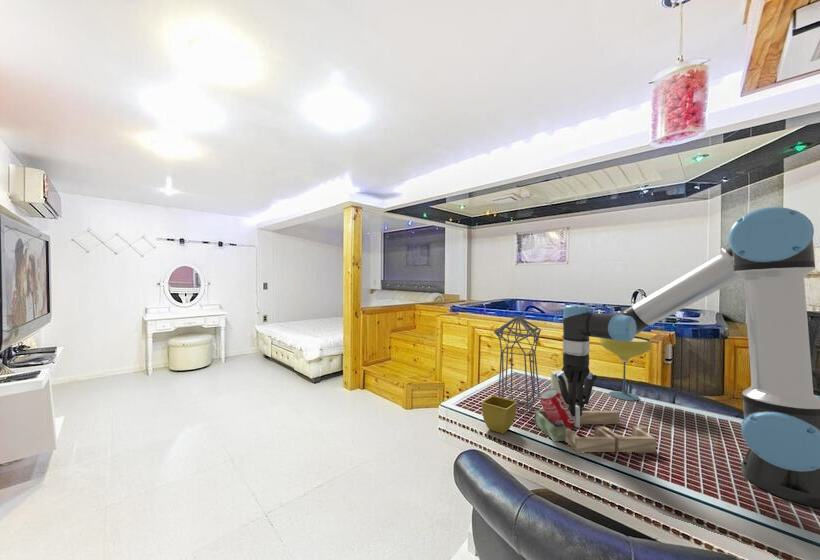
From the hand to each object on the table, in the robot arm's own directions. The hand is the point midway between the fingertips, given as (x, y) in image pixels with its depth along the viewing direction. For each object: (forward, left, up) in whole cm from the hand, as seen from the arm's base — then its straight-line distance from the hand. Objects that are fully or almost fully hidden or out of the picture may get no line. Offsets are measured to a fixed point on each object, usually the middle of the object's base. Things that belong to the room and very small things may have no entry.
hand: (575, 425), depth 102 cm
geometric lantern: (+20, +12, -2) cm, 23 cm away
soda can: (0, +3, -1) cm, 4 cm away
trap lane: (-4, -4, -2) cm, 5 cm away
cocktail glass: (+31, -39, -2) cm, 50 cm away
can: (+25, -9, -2) cm, 26 cm away
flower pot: (+2, +25, -2) cm, 25 cm away
